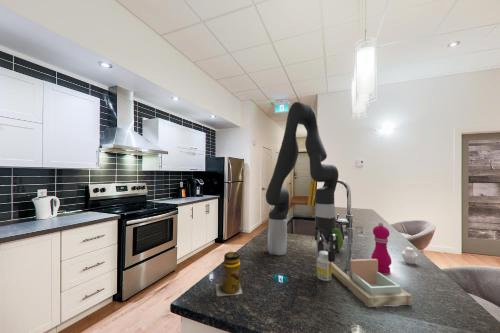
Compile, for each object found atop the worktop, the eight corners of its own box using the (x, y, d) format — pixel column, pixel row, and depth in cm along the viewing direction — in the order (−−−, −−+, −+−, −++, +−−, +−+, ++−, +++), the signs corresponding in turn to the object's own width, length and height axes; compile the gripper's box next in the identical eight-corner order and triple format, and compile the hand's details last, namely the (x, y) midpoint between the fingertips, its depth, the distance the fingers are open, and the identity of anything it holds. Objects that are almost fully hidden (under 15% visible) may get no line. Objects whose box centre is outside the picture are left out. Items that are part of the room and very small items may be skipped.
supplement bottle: (320, 281, 77) (320, 255, 78) (314, 274, 83) (314, 250, 83) (334, 280, 78) (334, 255, 78) (327, 274, 83) (327, 249, 84)
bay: (368, 307, 62) (368, 297, 62) (328, 269, 87) (328, 262, 87) (411, 305, 64) (411, 295, 64) (359, 268, 89) (359, 260, 89)
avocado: (345, 253, 105) (345, 229, 105) (330, 253, 105) (330, 229, 106) (339, 247, 113) (339, 225, 113) (324, 247, 113) (324, 225, 114)
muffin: (402, 263, 94) (402, 248, 94) (400, 258, 99) (400, 244, 100) (420, 266, 91) (419, 250, 91) (416, 261, 96) (416, 246, 97)
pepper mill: (388, 267, 89) (388, 221, 90) (394, 275, 83) (393, 225, 83) (369, 265, 92) (369, 219, 92) (373, 272, 85) (373, 223, 86)
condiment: (242, 294, 69) (243, 257, 69) (217, 297, 67) (217, 259, 67) (238, 282, 76) (239, 249, 76) (215, 285, 74) (216, 251, 74)
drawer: (371, 303, 64) (371, 274, 64) (350, 284, 75) (350, 259, 75) (400, 302, 65) (400, 273, 66) (376, 283, 76) (375, 258, 76)
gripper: (308, 212, 88) (309, 251, 87) (324, 218, 74) (325, 265, 73) (325, 211, 89) (326, 250, 88) (344, 218, 75) (345, 264, 74)
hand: (325, 257), depth 80 cm, fingers open, 8 cm apart
